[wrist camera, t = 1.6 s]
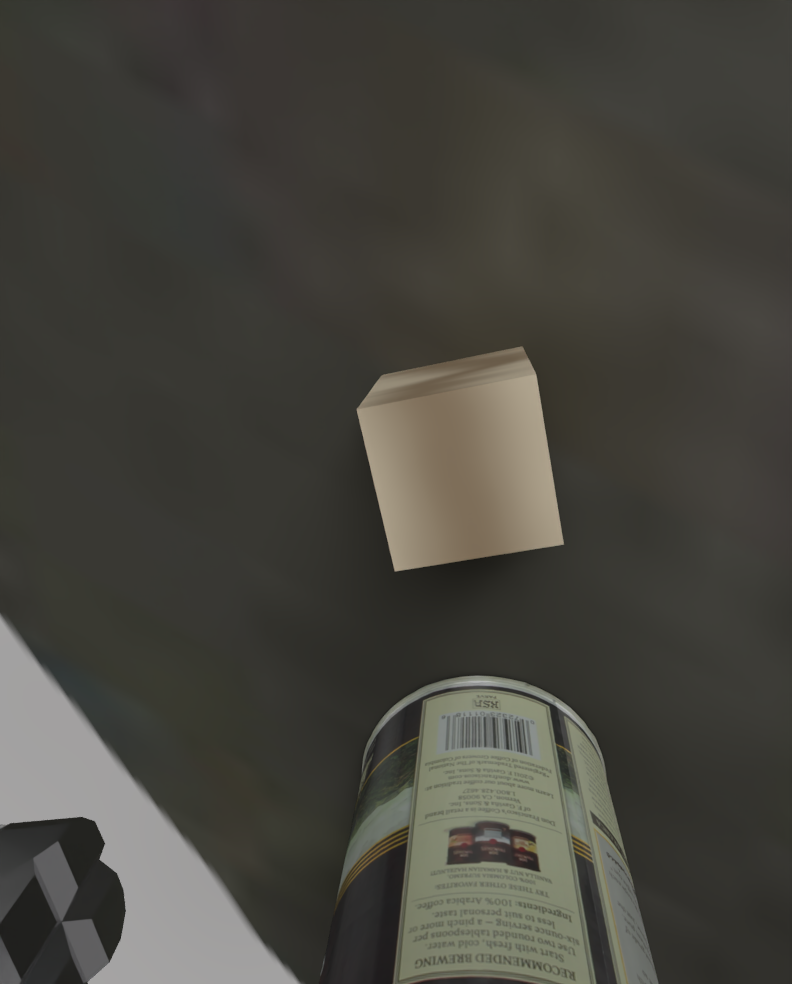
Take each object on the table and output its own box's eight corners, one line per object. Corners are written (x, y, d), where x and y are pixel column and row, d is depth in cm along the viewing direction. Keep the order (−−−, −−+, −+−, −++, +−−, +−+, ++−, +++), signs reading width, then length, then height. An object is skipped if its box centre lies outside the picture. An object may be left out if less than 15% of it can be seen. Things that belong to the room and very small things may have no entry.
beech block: (522, 346, 26) (536, 374, 20) (544, 482, 27) (563, 544, 21) (381, 374, 26) (356, 409, 21) (411, 505, 28) (394, 571, 22)
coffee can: (425, 901, 34) (393, 1331, 20) (321, 721, 31) (206, 1076, 18) (645, 837, 31) (772, 1275, 18) (552, 637, 29) (619, 972, 15)
